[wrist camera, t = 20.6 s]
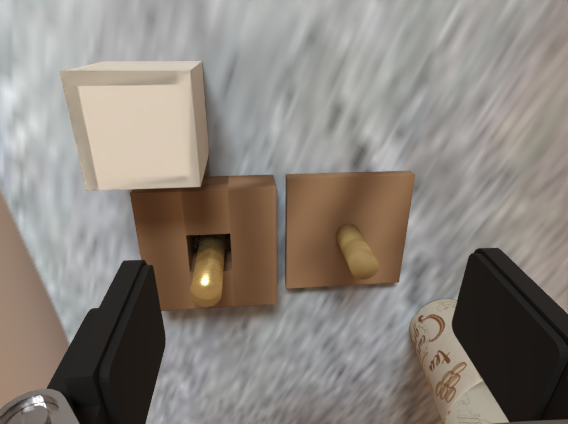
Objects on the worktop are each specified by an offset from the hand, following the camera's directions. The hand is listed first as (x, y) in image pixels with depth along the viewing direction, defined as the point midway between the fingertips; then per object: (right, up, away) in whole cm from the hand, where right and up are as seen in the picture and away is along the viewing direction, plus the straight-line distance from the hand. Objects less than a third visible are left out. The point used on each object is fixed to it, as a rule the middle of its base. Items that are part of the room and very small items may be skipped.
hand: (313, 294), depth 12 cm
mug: (+16, -9, +28) cm, 33 cm away
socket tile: (-7, +1, +20) cm, 22 cm away
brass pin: (-7, +1, +20) cm, 21 cm away
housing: (-10, +10, +16) cm, 21 cm away
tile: (+4, +1, +21) cm, 22 cm away
